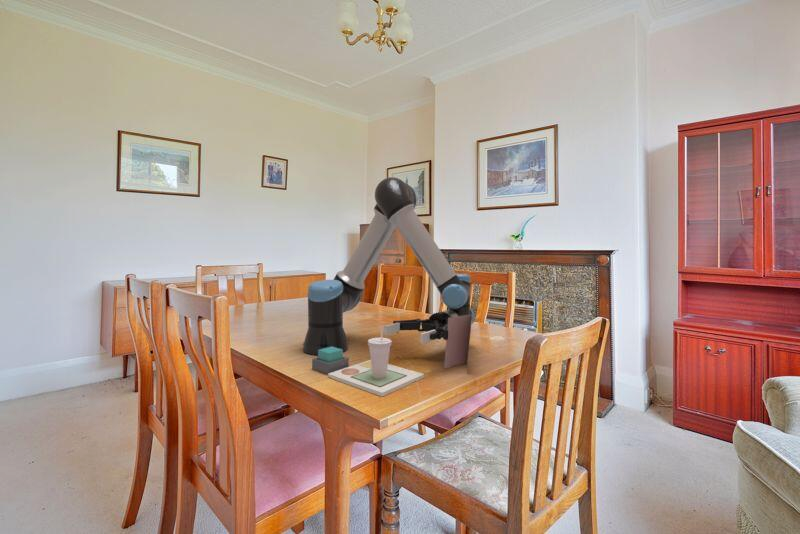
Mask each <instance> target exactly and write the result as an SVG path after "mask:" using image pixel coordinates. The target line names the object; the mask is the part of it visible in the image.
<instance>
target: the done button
mask: <svg viewBox="0 0 800 534" xmlns="http://www.w3.org/2000/svg"><path fill="white" fill-rule="evenodd" d="M343 355H344V352H343V349H339V348H335V347H332V346H331V347H328V348H324V349H320V350H318V355H317V357H318V360H321V361H324V362H327V363H331V362H334V361H337V360H341V359H343V357H344V356H343Z"/></svg>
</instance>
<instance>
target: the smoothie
mask: <svg viewBox="0 0 800 534" xmlns="http://www.w3.org/2000/svg"><path fill="white" fill-rule="evenodd" d="M367 345H368V349H369V350H368V351H369V357H370V359H369V360H371V368H372V376H373V377H374V378H377V379H382V378H385V377H386V375H387V367H388V364H389V360H390V359H389V358H390V352H391V346H392V345H393V344H392V339H390V338H387V337H384V324H380V337H372V338H370V339H368V340H367Z"/></svg>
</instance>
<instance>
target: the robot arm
mask: <svg viewBox="0 0 800 534" xmlns="http://www.w3.org/2000/svg"><path fill="white" fill-rule="evenodd" d="M374 200H375V203H376V204H375V205H374V208H373V211H374V216H373V218H372V219H371V221H370V224H369V225H368V226H367V228H366V230H365V231H364V233H363V235H362V237H361V239H360V241H359V242H358V244H357V246H356V248H355V249H354V251H353V253H352V254H351V256H350V258H349V259H348V262H347V263H346V265H345V267H344V268H343V270H339V271H337V272H336V274H335V276H334V278H333V279H323V280H317V281H314V282H311V283H310V284H309V286H308V288H307V289H308V291H307V313H308V314H307V320H308V321H307V322H308V324H307V325H308V328H307V331H306V334H305V337H304V341H303V344H302V347H303V348H302V351H303V352H304V353H306V354H308V355H313V356H314V355H316V356H318V350H320V349H324V348H328V347H331V346H332V347H335V348H339V349H343V353H344V352H346V351H348V349H349V341H348V338H347V335H346V332H345V329H344V320H343V319H344V317H343V315H344V313H346V312H348V311H351V310H353V309H354V308H356V307H357V306H358V304H359V303H360V301H361V299H362V293H363V291H364V289H365V287H366V286H365V282H364V281H366V278H367V277H368V275H369V273H370V271H371V270H372V268H373V266H374V264H375V263H376V261H377V259H378V257H379V256H380V254H381V252H382V250H383V249H384V247H385V246H386V244H387V242H388V240H389V238H390V237H391V235H392V234H393V232H394V230H395V229H396V228H397V230H398V232H399V233H400V234H401V236H402V237H403V239H404V240H405V242H406V243H407V245H408V246H409V248H410V249H411V251H412V253H413V254H414V255H415V257H416V259H417V260H418V261H419V263H420V264H421V266H422V268H423V269H424V271H425V272H426V274H427V275H428V277H429V278H430V280H431V281H432V283H433V284H434V286H435V287H436V289H437V291H438V292H439V293H440V295H441V298H442V302H443V304H444V305H445V306H446V307H447V308H448V309H447V310H443V311H439V312H434V313H432V314H431V315H430V316H429V317H428V318H426V319H421V318H414V319H401V320H393V321H392V322H393V323H391V324H387V325H383V336H387V335H393V334H399V332H401V331H418V332H420V337H419V338H420V344H422V345H423V344H425V343H429V342H432V341H436V340H441V339H443V340H444V341H446V340H448V330H447V327H448V318H450V317H457V316H464V315H470V314H472V318H471V326H472V325H473V324H474V322H475V319H476V316H475V312H474V310H473V309H472V308H471V288H472V287H471V285H472V283H471V280H472V279H471V276H470V275H469V274H468V273H456V272H455V270H454V269H453V268H452V266H451V264H450V262H449V261H448V259H447V258H446V256H445V255H444V254H443V252H442V250H441V249H440V248H439V246H438V245H437V243H436V241H435V240H434V238H432V236H431V234H430V233H429V231H428V229H427V228H426V226H425V225H424V223H423V222H422V220H421V218H420V217H419V216H418V215H417V213H416V211H415V209H416V206H417V200H418V198H417V194H416V192H415V190H414V188H413V187H412V186H411V185H409V183H407V182H405V181H404V180H402V179H401V178H397V177H393V176H392V177H386V178H384V179H382V180H381V181H379V183H378V184H377V186H376V188H375V190H374Z"/></svg>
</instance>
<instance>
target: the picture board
mask: <svg viewBox="0 0 800 534" xmlns="http://www.w3.org/2000/svg"><path fill="white" fill-rule="evenodd" d="M329 377H330V378H329ZM327 378H329V379H331V378H332V379H333V380H334V379H335V380H334V381H337V382H340V383H343V384H346V385H349V386H351V387H354V388H357V389H359V390H363V391H364V392H368V393H371V394H373V395H376V396H379V397H381V398H383V397H385V396H388V395H389V394H392V393H394V392H396V391H397V390H400V389H402V388H405V387H407V386H409V385H412V384H414V383H416V382H417V381H419V380H423V379H424V378H425V374H424V373H422V372H417V371H415V370H411V369H407V368H404V367H402V366H401V367H400V366H398V365H394V364H389V363H388V367H387V375H386V377H385V378H382V379H377V378H374V377H373V376H372V368H371V359H368V360H365V361H362V362H359V363H356V364H353V365H351V366H349V367H347V368H344V369H341V370H338V371H335V372H332V373H329V374H327ZM415 381H416V382H415ZM413 382H414V383H413Z"/></svg>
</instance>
